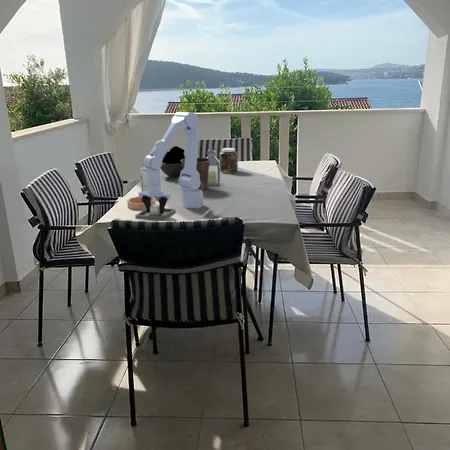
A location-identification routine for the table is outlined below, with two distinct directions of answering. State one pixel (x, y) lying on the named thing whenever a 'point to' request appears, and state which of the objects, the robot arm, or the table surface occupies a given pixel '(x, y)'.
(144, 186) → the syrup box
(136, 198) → the bowl
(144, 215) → the tray
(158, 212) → the cream cup
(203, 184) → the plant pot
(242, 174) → the table surface
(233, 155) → the jar
